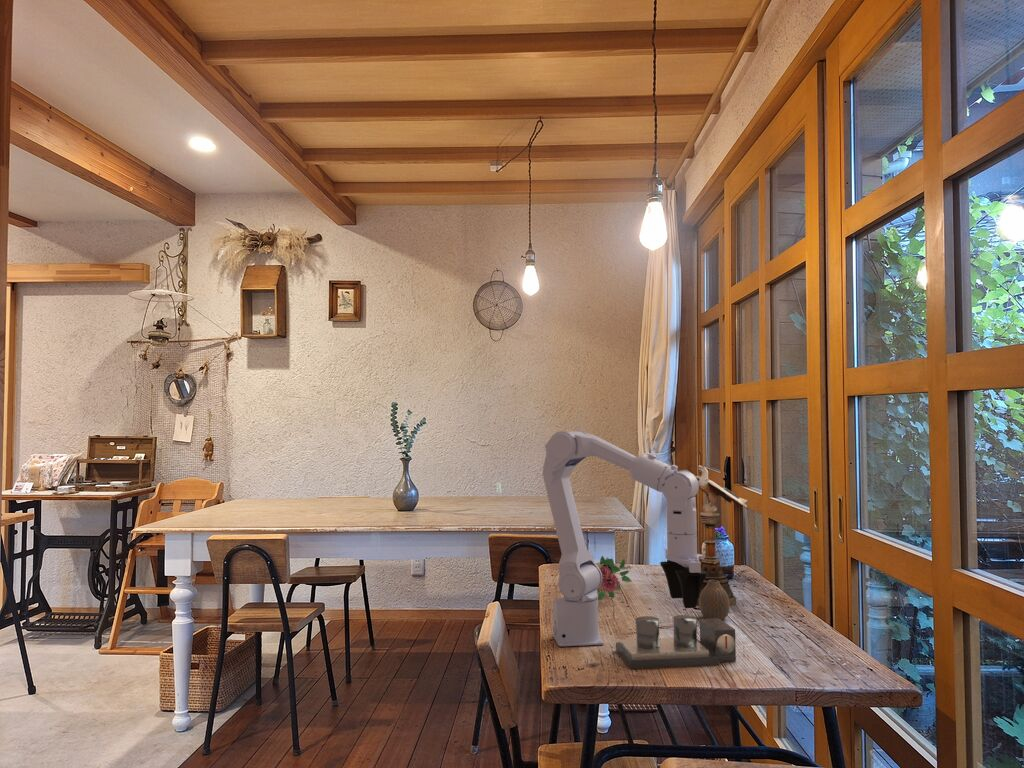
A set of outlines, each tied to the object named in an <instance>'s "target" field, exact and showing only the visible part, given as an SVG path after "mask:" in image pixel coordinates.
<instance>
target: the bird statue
mask: <svg viewBox="0 0 1024 768" xmlns="http://www.w3.org/2000/svg"><path fill="white" fill-rule="evenodd" d="M697 469H698V470H699V471H700V472H701V475H700V476H699V475H695V476H696V478H697V480H698V482H699V489H700V490H701V492H703V493H704V494H705V495H706V500H707V501H708V502H707V503H704V504H703V506H702V507H701V509H702V511H701V512H699V516H700V517H701V518H700V523H701V524H703V525H704V526H703V528H704V533H705V535H704V541H703V542H704V544H705V556H704V557H703V559H700V560H701V561H700V562H701V571H705V572H706V573H707V575H706V578H705V579H704V581H703V583H702V586H701V588H700V592H699V596H698V601H697V605H696V606H699V597H700V594H701V592H702V590H703V589H704V587H705V586H706V585H707V583H708V581H709V580H718V581H719V582H720V585H721V586H722V587H723V589H724V590H725V591H726V593H727V595H728V597H729V602H730V607H731V606H735V605H737V596H735V595H734V593H733V591H732V589H731V585H730V583H729V582H730V580H728V578H727V577H728V576H727V575H726V574H725V573H724V571H723V569H722V567H721V561H720V559H718V558H717V556H716V544H717V543H718V542H717V540H716V527H717V525H718V524H719V522H720V521H719V520H720V519H719V518H720V516H721V513H719V512H718V507H717V503H718V499H719V498H718V497H719V496H720V497H721V498H723V499H724V500H725V501H726V502H727V503H730V504H731V503H732V502H733V503H736V504H739V505H741V506H743V508H744V509H748V506H747V503H748V502H749V501H748V500H747V499H746V498H742V497H739V496H738V495H736V494H735V493H734V492H732V491H731V490H729V489H728V488H727V487H722V486H720V485H718V484H717V483H716V482H715V481H713V480H711V479H709V477H710V475H709V471H708V469H707V467H705V466H703V465H700V464H699V465H697Z"/></svg>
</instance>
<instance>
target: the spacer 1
mask: <svg viewBox="0 0 1024 768" xmlns="http://www.w3.org/2000/svg"><path fill="white" fill-rule="evenodd" d="M659 620H660V619H659V618H658V617H656V616H650V615H645V616H644V615H643V616H638V617H636V618H635V629H636V630H635V631H636V639H637V646H638V647H639V648H643V649H656V648H658V647H660V638H661V637H660V621H659Z"/></svg>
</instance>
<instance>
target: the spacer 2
mask: <svg viewBox="0 0 1024 768" xmlns="http://www.w3.org/2000/svg"><path fill="white" fill-rule="evenodd" d="M697 621H698V619H697V617H696V616H693V615H687V614H677V615H674V616H673V638H674V645H676V646H679V647H685V648H691V647H695V646H697V639H698V636H697V635H698V634H697V633H698V629H697V628H698V627H697V626H698V625H697Z"/></svg>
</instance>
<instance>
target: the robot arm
mask: <svg viewBox="0 0 1024 768" xmlns="http://www.w3.org/2000/svg"><path fill="white" fill-rule="evenodd" d="M544 449H545V452H546V453H545V458H544V463H543V468H542V477H543V481H544V486H545V490H546V494H547V498H548V503H549V507H550V510H551V511H550V512H551V514H552V518H553V523H554V527H555V531H556V537H557V540H558V543H559V544H558V545H559V549H560V552H561V557H560V559H559V562H558V566H557V568H558V573H559V575H558V582H557V583H558V584H557V585H558V588H559V592H560V593H561V595H562V596H563V597H559V598H554V599H553V603H552V636H553V638H554V640H555V642H556V643H557V646H558V647H574V646H575V647H576V646H577V647H579V646H600V645H602V646H603V645H604V644H605V642H604V640H603V639H602V638H601V636H600V635H599V600H598V595H599V593H598V589H599V588H601V587H600V585H601V583H602V573H601V571H600V569H599V567H598V566H597V565H596V563H597V562H596V561H595V559H594V555H593V554H592V553H591V552H590V551H589V550H588V548H587V546H586V542H585V538H584V533H583V528H582V524H581V522H580V516H579V513H578V508H577V505H576V502H575V496H574V492H573V488H572V484H571V481H570V475H571V474H572V473H573V471H574V470H575V469H576V467H577V465H579V464H580V463H581V462H582V461H584V460H585V459H586V458H588V457H589V458H590V457H596V458H599V459H601V460H604V461H606V462H608V463H611V464H612V465H615V466H617V467H619V468H622V469H623V470H624V469H625V470H626V471H629V473H630V475H631V478H632V480H634V481H636V482H638V483H641V484H643V485H644V486H646V487H649V488H650V489H653V490H655V491H657V492H658V493H662V495H663V496H664V497H665V499H666V546H667V547H666V549H665V559H666V561H660V562H659V563H660V567H661V568H662V571H663V573H664V575H665V578H666V581H667V587H668V591H669V594H670V598H671V599H682V603H683V607H684V608H685V609H696V608H697V606H698V605H697V601H698V596H699V592H700V588H701V586H702V583H703V581H704V579H705V578H706V575H707V573H706V572H705V571H701V561H699V560H702V559H703V558H704V555H702V554H701V553H698V536H697V535H698V533H697V528H698V527H697V507H696V506H697V503H696V501H697V500H696V498H697V497H696V495H697V494H698V493H699V489H700V488H699V482H698V480H697V478H696V476H697V475H695V474H694V473H692V472H690V470H688V469H682V470H678V467H679V466H678V465H676V464H672V465H670V464H669V463H665V462H664V461H661V460H659V459H657V458H658V457H657V455H655V454H653V453H649V454H646V453H643V454H641V455H637V456H636V455H634V454H632V453H631V452H629V451H626V450H625V449H622V448H620V447H618V446H617V445H614V444H613V443H611V442H608V441H607V440H605V439H603V438H602V437H599V436H597V435H595V434H592V433H587V432H586V431H584V430H574V431H572V430H571V431H565V430H559V431H557V432H555V433H554V434H552V435H551V437H549V439H548V441H547V442H546V443H545V446H544Z"/></svg>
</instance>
